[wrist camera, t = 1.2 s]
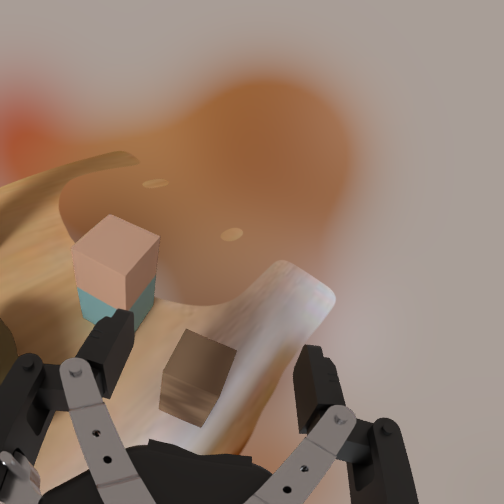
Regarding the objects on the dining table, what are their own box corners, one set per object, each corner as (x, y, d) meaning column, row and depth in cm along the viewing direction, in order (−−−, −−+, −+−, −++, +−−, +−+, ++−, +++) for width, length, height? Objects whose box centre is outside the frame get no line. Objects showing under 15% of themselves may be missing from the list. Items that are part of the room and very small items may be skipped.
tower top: (76, 286, 30) (71, 247, 27) (109, 252, 36) (109, 213, 32) (126, 314, 30) (125, 275, 26) (155, 274, 36) (160, 236, 32)
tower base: (83, 317, 34) (77, 286, 30) (111, 284, 40) (109, 252, 36) (127, 343, 34) (126, 314, 30) (153, 305, 39) (156, 274, 36)
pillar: (158, 409, 29) (162, 371, 23) (176, 374, 33) (186, 328, 27) (201, 427, 29) (219, 396, 23) (215, 391, 33) (237, 350, 27)
